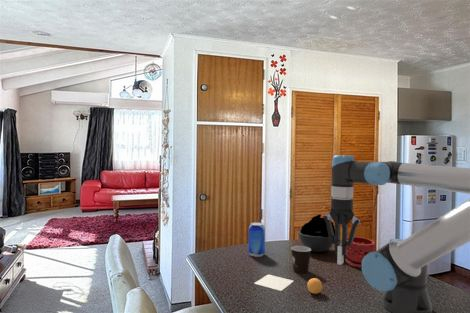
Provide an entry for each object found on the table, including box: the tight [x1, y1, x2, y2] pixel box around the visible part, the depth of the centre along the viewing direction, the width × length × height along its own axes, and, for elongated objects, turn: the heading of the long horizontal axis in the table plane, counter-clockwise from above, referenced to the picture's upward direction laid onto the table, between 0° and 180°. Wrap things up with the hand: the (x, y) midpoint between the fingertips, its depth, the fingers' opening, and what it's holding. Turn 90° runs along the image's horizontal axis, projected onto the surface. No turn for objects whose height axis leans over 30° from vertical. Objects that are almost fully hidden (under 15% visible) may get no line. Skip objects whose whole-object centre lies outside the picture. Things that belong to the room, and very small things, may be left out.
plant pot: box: [345, 236, 376, 269], centre depth 156 cm, size 13×13×12 cm
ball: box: [306, 277, 323, 295], centre depth 123 cm, size 6×6×6 cm
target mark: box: [253, 273, 295, 292], centre depth 133 cm, size 12×12×1 cm
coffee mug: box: [290, 245, 312, 275], centre depth 148 cm, size 12×9×10 cm
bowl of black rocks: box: [298, 214, 335, 253], centre depth 177 cm, size 20×20×19 cm
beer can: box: [248, 221, 266, 258], centre depth 169 cm, size 8×8×16 cm
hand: (340, 263), depth 118 cm, fingers closed
